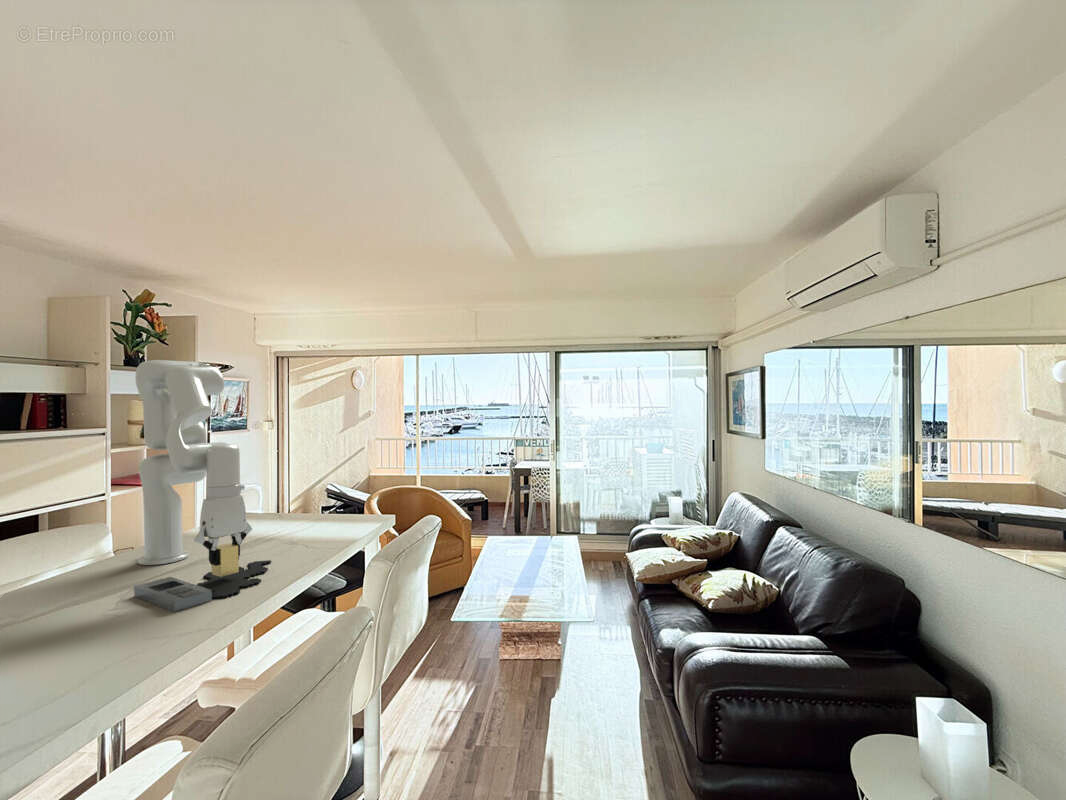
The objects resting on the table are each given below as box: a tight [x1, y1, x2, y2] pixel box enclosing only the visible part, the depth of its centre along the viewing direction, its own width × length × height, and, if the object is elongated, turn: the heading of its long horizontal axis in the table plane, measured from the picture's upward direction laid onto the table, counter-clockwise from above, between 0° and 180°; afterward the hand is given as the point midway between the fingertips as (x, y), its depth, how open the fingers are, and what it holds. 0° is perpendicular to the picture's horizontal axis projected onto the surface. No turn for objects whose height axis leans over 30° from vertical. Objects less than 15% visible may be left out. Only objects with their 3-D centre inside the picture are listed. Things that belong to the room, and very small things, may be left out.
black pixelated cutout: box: [196, 559, 272, 601], centre depth 143 cm, size 16×1×30 cm
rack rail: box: [133, 576, 213, 613], centre depth 129 cm, size 20×8×3 cm, turn 58°
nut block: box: [211, 542, 240, 577], centre depth 141 cm, size 4×4×7 cm
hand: (224, 561), depth 141 cm, fingers closed on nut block, 4 cm apart
